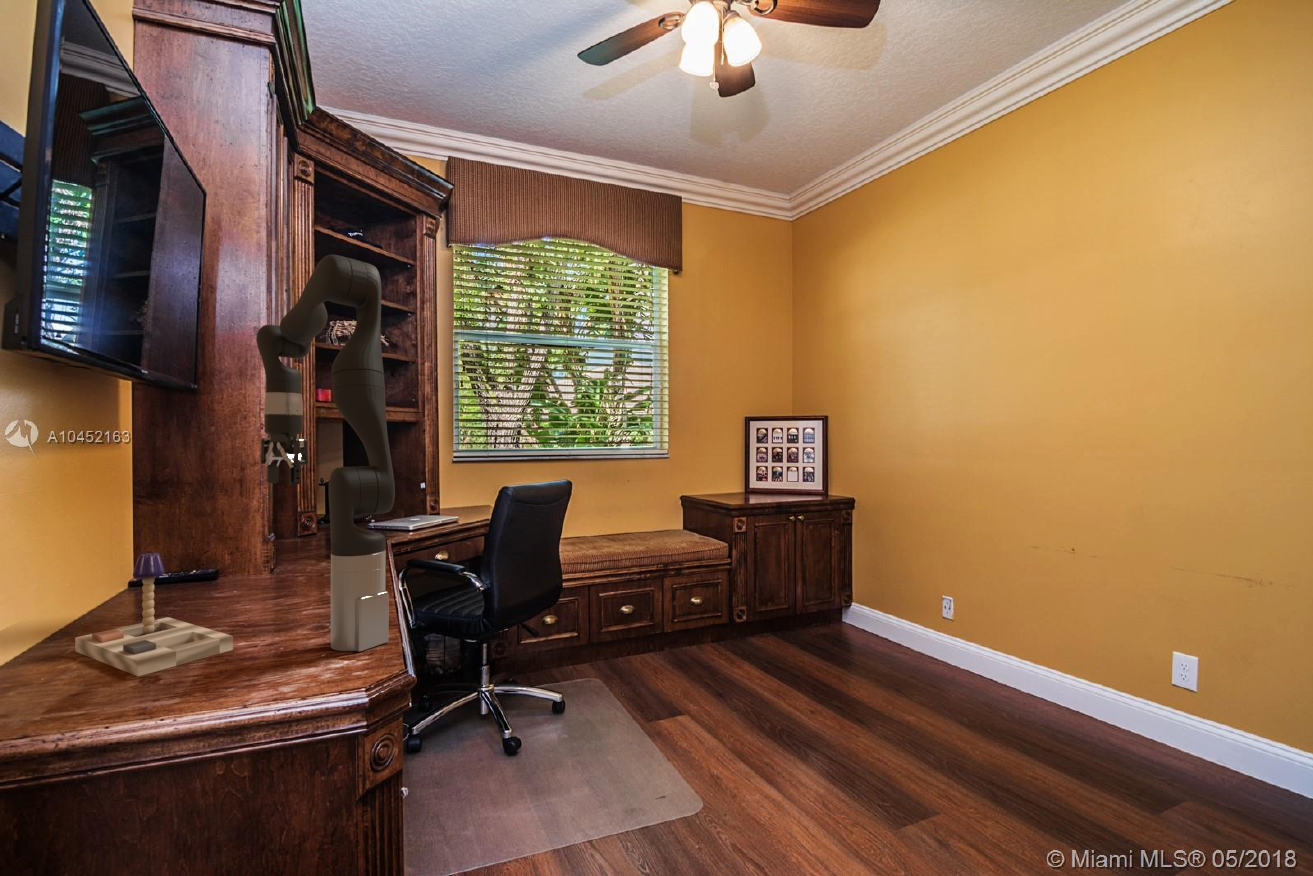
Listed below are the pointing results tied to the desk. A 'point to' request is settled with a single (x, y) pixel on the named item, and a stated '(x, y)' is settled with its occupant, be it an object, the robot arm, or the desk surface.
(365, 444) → the robot arm
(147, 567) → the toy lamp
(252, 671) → the desk surface
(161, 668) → the socket board
